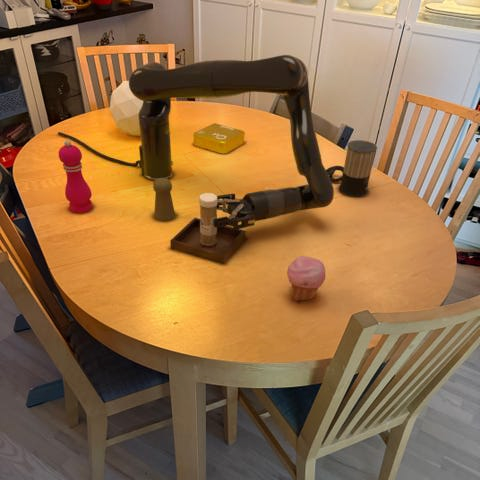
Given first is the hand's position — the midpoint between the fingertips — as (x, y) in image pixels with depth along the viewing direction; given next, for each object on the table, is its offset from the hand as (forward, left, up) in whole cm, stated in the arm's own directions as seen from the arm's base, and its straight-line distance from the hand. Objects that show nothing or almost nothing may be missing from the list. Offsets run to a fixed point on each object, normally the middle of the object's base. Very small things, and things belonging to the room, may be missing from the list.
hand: (207, 215), depth 120 cm
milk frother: (+24, +52, -9) cm, 58 cm away
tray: (0, 0, -9) cm, 9 cm away
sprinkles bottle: (0, 0, -8) cm, 8 cm away
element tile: (-28, +64, -9) cm, 70 cm away
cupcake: (+30, -10, -9) cm, 33 cm away
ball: (-60, +58, -9) cm, 84 cm away
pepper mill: (-42, 0, -9) cm, 43 cm away
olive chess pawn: (-18, +7, -9) cm, 21 cm away
